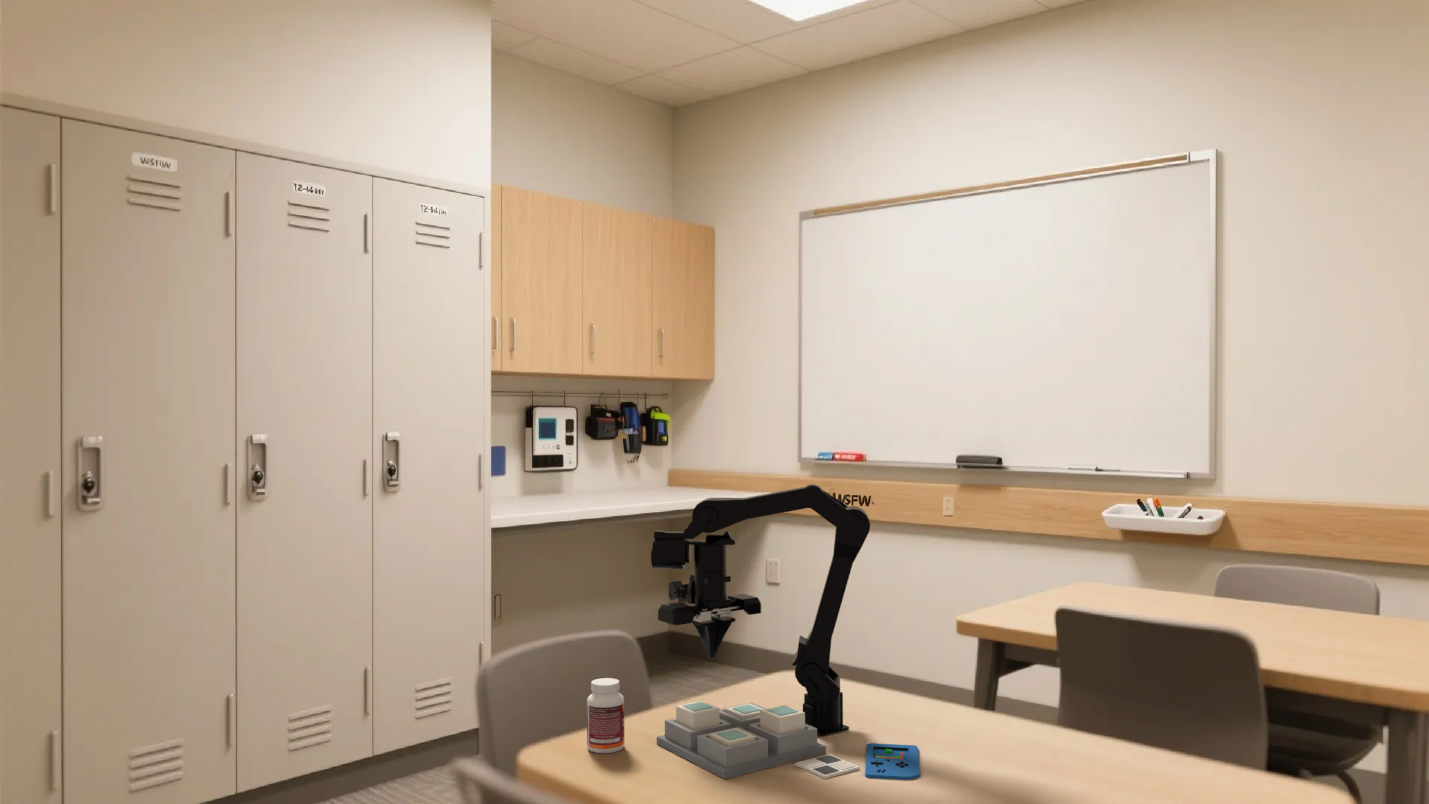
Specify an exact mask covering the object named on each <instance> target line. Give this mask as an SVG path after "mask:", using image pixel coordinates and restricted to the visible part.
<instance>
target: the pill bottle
mask: <svg viewBox="0 0 1429 804" xmlns="http://www.w3.org/2000/svg"><path fill="white" fill-rule="evenodd" d="M590 683H591V684H590V689H591V692H592V693H591V694H590V695H589V696H588V697H587V698H586V699H587V700H586V747H587V749H588V750H589V752H592V753H597V754H611V753H612V754H613V753H617V752H619V751H621V750H623V749H624V748H625V697H624V695H622V693H620V688H621V686H620V680H619V679H617V678H611V677H605V678H603V677H601V678H597V679H593V680H591V682H590Z"/></svg>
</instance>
